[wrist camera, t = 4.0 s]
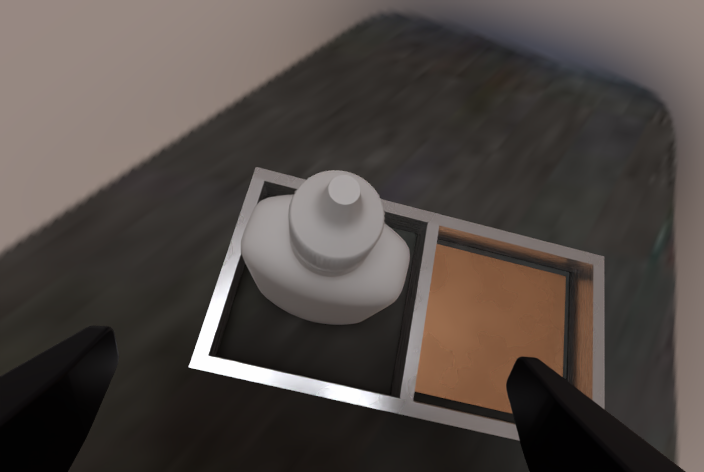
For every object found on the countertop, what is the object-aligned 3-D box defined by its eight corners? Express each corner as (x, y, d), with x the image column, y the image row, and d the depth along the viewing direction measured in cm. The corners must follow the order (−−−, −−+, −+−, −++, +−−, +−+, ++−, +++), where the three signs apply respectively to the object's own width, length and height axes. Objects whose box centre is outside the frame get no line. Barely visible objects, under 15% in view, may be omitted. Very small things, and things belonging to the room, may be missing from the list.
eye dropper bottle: (310, 221, 21) (327, 52, 9) (385, 298, 20) (503, 217, 8) (245, 276, 19) (173, 159, 8) (323, 360, 18) (366, 364, 7)
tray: (580, 264, 22) (604, 256, 20) (576, 450, 19) (604, 459, 17) (259, 182, 21) (255, 167, 19) (199, 366, 18) (188, 367, 16)
